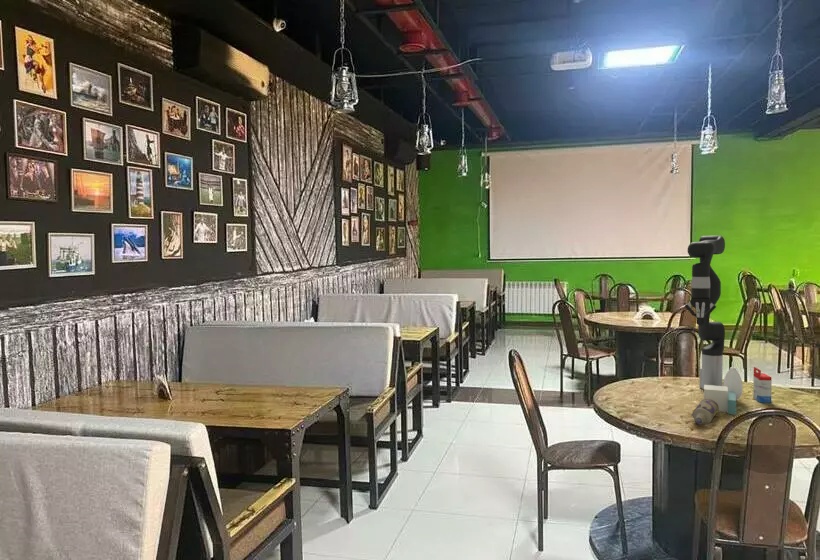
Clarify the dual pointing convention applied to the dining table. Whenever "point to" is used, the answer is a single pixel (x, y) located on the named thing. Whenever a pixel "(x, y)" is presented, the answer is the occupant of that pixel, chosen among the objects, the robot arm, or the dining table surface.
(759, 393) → the ink box
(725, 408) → the cream block
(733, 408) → the teal board
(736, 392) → the sauce bottle
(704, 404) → the decorative bottle
